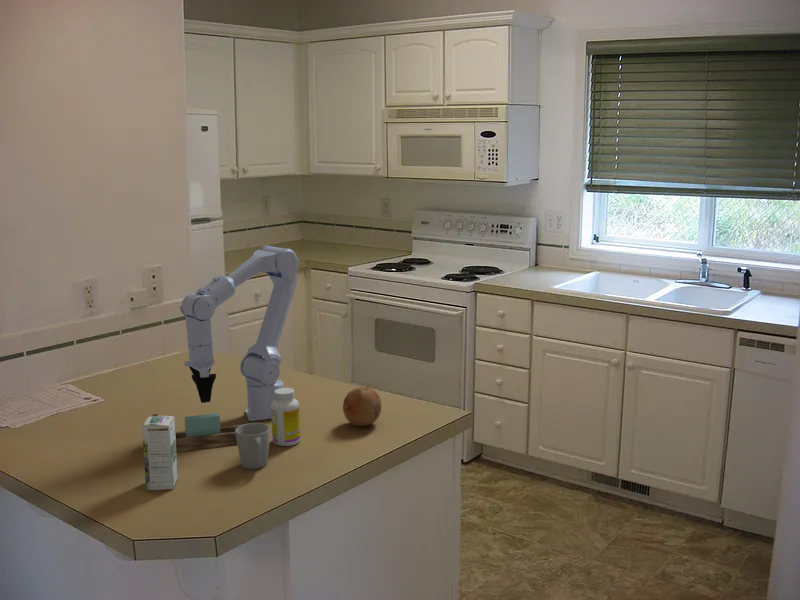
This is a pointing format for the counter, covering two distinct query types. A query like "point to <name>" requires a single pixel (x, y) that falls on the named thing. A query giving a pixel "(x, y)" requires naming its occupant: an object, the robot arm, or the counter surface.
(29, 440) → the counter surface
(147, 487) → the syrup box
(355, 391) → the grapefruit
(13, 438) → the counter surface
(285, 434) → the supplement bottle
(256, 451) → the cup
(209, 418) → the teal rectangular block
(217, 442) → the track
